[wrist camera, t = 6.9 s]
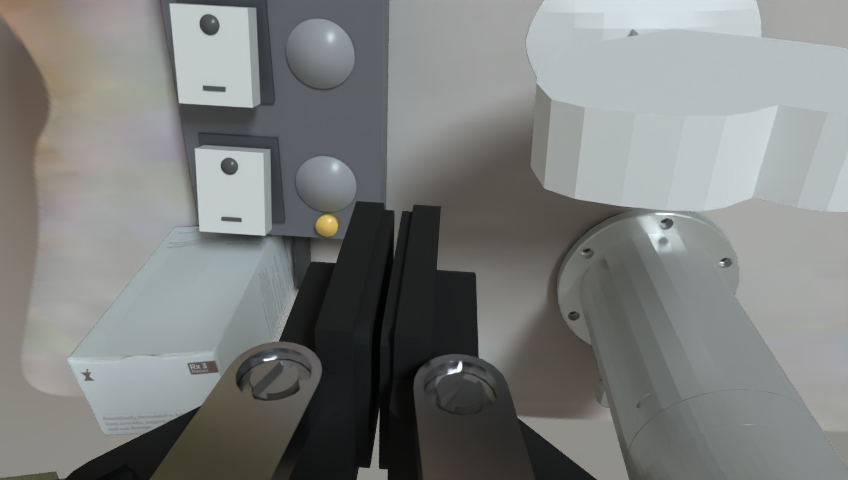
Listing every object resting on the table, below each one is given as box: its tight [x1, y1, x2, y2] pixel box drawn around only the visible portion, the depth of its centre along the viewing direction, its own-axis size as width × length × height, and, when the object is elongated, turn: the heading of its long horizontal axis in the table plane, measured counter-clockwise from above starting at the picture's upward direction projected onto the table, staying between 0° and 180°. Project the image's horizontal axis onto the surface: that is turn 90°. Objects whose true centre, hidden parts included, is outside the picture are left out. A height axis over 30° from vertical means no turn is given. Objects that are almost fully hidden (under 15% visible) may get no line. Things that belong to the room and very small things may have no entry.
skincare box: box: [67, 226, 294, 435], centre depth 39 cm, size 8×6×15 cm
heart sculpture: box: [525, 0, 848, 212], centre depth 28 cm, size 16×5×18 cm, turn 91°
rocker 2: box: [195, 145, 272, 236], centre depth 36 cm, size 5×4×2 cm
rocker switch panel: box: [161, 0, 389, 289], centre depth 36 cm, size 30×12×4 cm, turn 177°
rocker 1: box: [169, 3, 260, 108], centre depth 32 cm, size 5×4×2 cm
